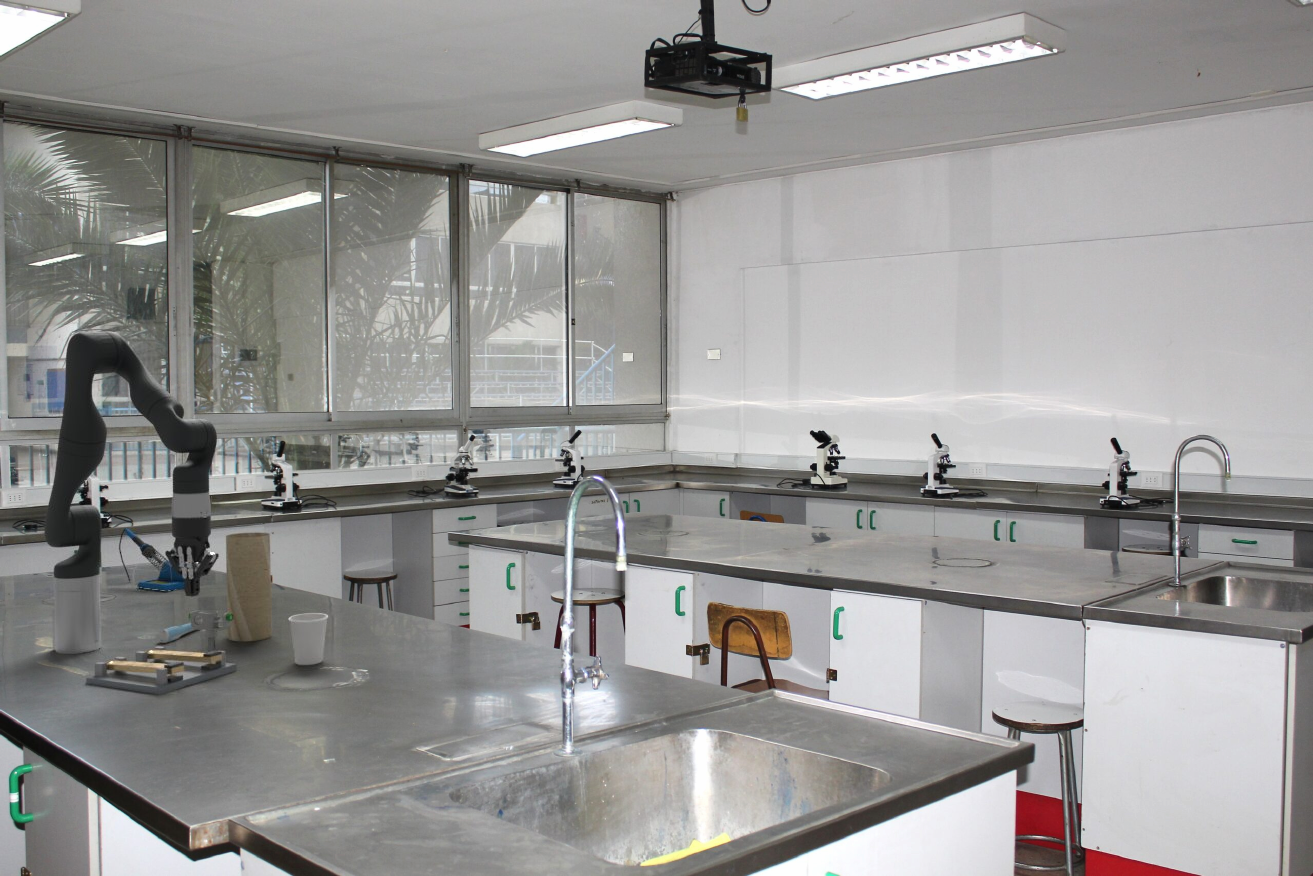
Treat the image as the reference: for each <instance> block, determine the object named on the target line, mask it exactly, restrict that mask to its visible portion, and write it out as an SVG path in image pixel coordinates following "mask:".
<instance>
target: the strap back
mask: <svg viewBox="0 0 1313 876" xmlns="http://www.w3.org/2000/svg"><path fill="white" fill-rule="evenodd" d="M222 651H223V650H215V651H212V652H208V651H207V652H196V651H195V652H193V651H179V650H178V651H177V650H166V651H165V650H154V649H152V650H149V651H146V652H147V660H152V659H159V660H173V661H188V662H203V663H213V662H216V661H219V660H222Z"/></svg>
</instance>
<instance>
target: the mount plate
mask: <svg viewBox="0 0 1313 876" xmlns="http://www.w3.org/2000/svg"><path fill="white" fill-rule="evenodd" d="M153 650H165V651H167V649H166V646H159V645H158V646H155V647H154V648H153ZM221 651H222V660H219V661H216V662H213V663H203V662H188V661H173V660H159V659H147V652H148V651H143V650H142V651H141V650H139V651H135V662H146V663H161V664H170V663H173V662H184V671H182V672H179V673H176V674H172V675H171V674H167V668H158V669H156V673H143V672H129V671H116V670H107V662H102V661H98V662H95V663H94V675H90V676H88V677H85V680H86V681H85V684H89V685H95V686H102V687H107V688H108V687H109V688H114V689H121V690H122V689H123V690H126V691H127V690H129V691H134V692H142V693H146V694H148V693H149V694H153V693H154V694H155V695H162V694H167V693H169V691H170V692H172V691H171V690H173V691H176V690H178V689H177V688H179V689H182V688H185V687H184V686H186V687H188V686H187V685H189V686H192V685H195V684H198V683H201V681H202V682H204V681H207V680H210V679H211V680H212V679H215V678H217V676H218V677H220V675H221V676H223V675H227V674H230V673H233V672H237V663H233V662H232V663H231V662H227V661H226V651H225V650H221ZM115 660H118V661H128V660H127V657H126V656H116V657H114V661H115ZM191 684H192V685H191ZM181 687H182V688H181ZM175 689H176V690H175Z"/></svg>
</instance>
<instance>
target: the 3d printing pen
mask: <svg viewBox="0 0 1313 876" xmlns="http://www.w3.org/2000/svg"><path fill="white" fill-rule="evenodd" d="M195 630H196V629H193V628H192V626H191V622H189V623H185V624H181V625H175V626H170V627H168V628H165V629H162V630H161V631H159V632H158V635H157V636H156V640H157V642H158V643H160V644H167V643H169V642H172V641H175V640H178V639H180V637H181V636H184V635H186V634H187V633H190V632H192V631H195Z"/></svg>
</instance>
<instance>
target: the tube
mask: <svg viewBox="0 0 1313 876" xmlns="http://www.w3.org/2000/svg"><path fill="white" fill-rule="evenodd" d="M225 553H226V554H225V558H226V560H225V561H226V563H225V564H226V605H227V606H226V609H227V610H226V611H227V612H226V613H231V614H233V620H232V625H231V627H229V628H227V639H228V640H229V641H233V642H253V641H255V642H256V641H261V640H267V639H268V638H271V637H272V636H273V635H272V581H271V580H272V578H271V574H272V573H271V533H270V532H268V533H267V532H241V533H232V534H227V535H226V536H225Z"/></svg>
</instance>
